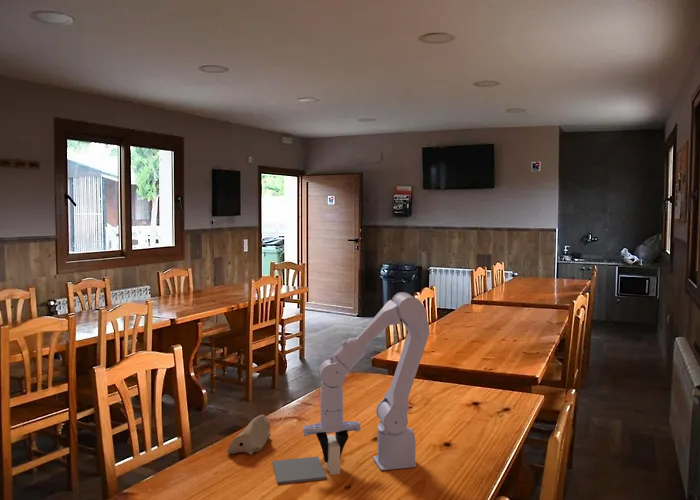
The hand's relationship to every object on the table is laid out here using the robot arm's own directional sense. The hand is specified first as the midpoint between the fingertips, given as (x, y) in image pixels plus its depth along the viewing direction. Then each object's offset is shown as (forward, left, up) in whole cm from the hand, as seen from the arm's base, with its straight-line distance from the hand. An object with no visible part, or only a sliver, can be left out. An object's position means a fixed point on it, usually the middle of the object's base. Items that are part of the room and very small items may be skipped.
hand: (331, 460), depth 152 cm
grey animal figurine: (+20, -18, -2) cm, 26 cm away
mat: (+8, 0, -2) cm, 9 cm away
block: (0, 0, -2) cm, 2 cm away
